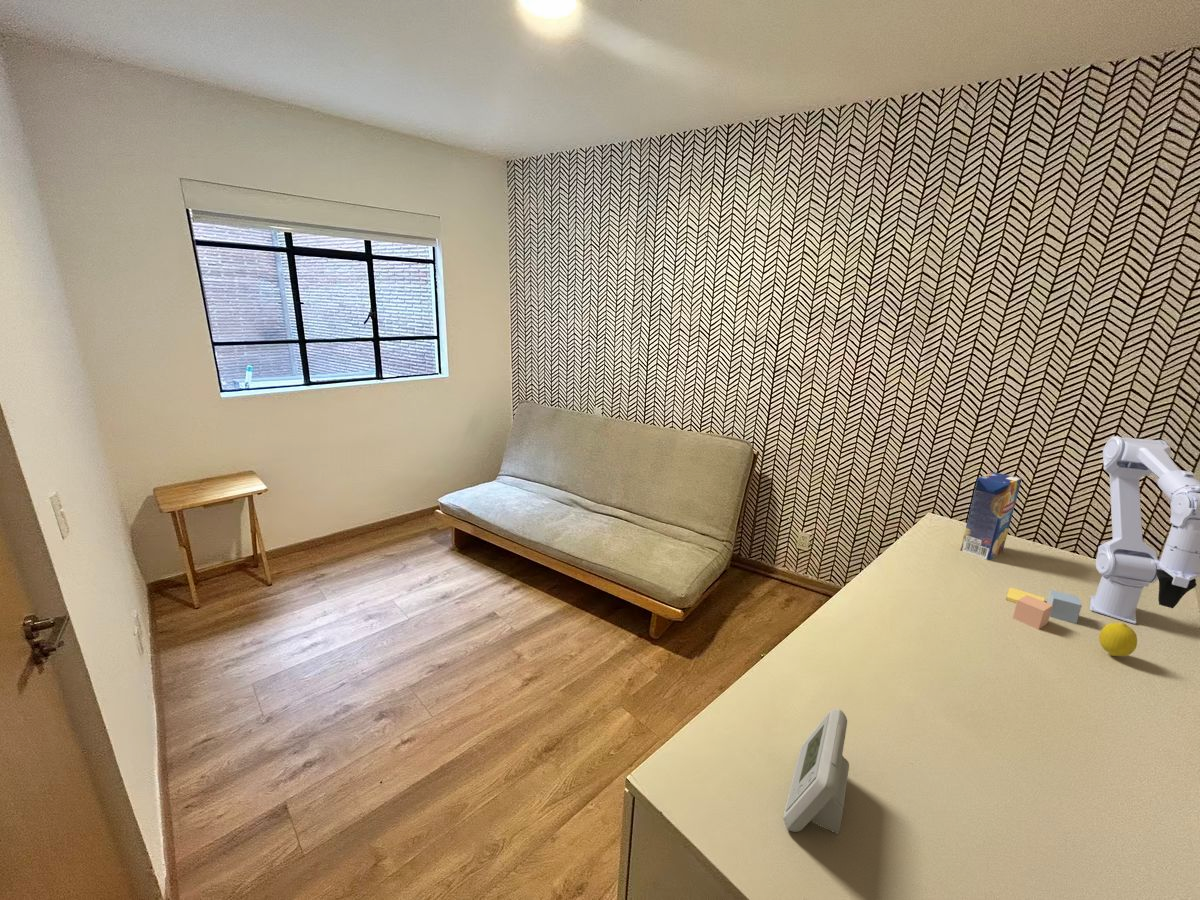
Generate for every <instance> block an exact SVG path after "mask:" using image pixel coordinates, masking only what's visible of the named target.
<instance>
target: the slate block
mask: <svg viewBox="0 0 1200 900" xmlns="http://www.w3.org/2000/svg"><path fill="white" fill-rule="evenodd" d="M1046 603H1049V604H1051V605H1053V607H1052V610H1051V613H1050V617H1049V618H1054V619H1058V620H1061V621H1065V622H1069V623H1072V624H1077V622H1078V618H1079V616H1080V612H1081V609H1082V606H1083V605H1082V603H1081V600H1080V598H1079V596H1078V595H1073V594H1070V593H1065V592H1063V591H1059V590H1054V589H1050V591H1049V594H1048V598H1047V602H1046Z"/></svg>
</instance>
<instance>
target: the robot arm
mask: <svg viewBox="0 0 1200 900" xmlns="http://www.w3.org/2000/svg"><path fill="white" fill-rule="evenodd" d="M1170 454H1171V446H1170V445H1169V444H1168V443H1167V441H1165V440H1163V439H1145V438H1133V437H1123V436H1122V437H1121V436H1117V435H1115V436H1112V437H1110V438H1109V439H1108V440H1107V441H1106V443H1105V445H1104V447H1103V449H1102V459H1103V461H1102V462H1103V463H1102V464H1103V470H1104V471H1105V472H1106V473H1108V474H1109V490H1110V492H1109V493H1110V494H1109V495H1110V513H1111V533H1112V534H1111V536H1112V539H1111V540H1108V541H1105V542H1103V543H1102V544H1100V545H1098V547H1097V556H1096V558H1095V568H1096V570H1097V571H1098V573H1099V574H1100V575H1101V578H1100V581H1099V583H1098V587H1097V590H1096V593H1095V595H1092V594H1091V595H1090V603H1089V610H1090V611H1091V612H1095V613H1097V614H1102V615H1103V616H1107V617H1111V618H1114V619H1117V620H1121V621H1124V622H1127V623H1130V624H1135V625H1136V624H1137V615H1136V610H1137V607H1138V603H1139V602H1140V599H1141V596H1142V593H1143V590H1144V587H1149V585H1150V584H1154V583H1156V582H1157V581H1158V601H1157V602H1158V605H1159V606H1163V607H1167V608H1169V609H1174V608H1175V607H1176V606H1177V604H1179V602H1180V601H1181V600H1182V598H1183V596H1185V595H1186V594H1187V593H1188V592H1189V591H1191V590H1192V589H1195V587H1197V580H1196V579H1197V578H1199V577H1200V480H1199V479H1198V478H1197V477H1196V476H1195V474H1194V473H1193V472H1192V471H1187V470H1181V469H1180V468H1179V467H1178V466H1177V464H1176V463H1175V462H1174V461H1173V459H1172V457H1170ZM1152 474H1154V475H1155V476H1156V477H1157V478H1158V479H1157V486H1158V487H1159V489H1160V490H1161V491H1162V492H1163V493H1164V495H1165V496H1166V497H1167V498H1168V500H1170V511H1171V515H1170V518H1169V521H1170V522H1169V523H1171V524H1172V525H1171V528H1170V530H1169V532H1168V533H1169V534H1168V536H1167V539H1166V542H1165V545H1164V548H1163V551H1162V553H1161V557H1160V559H1159V558H1158V555H1157V551H1156V550H1155V549H1154V548H1152V547H1151V546H1150V545H1149V544H1147V543H1145V542H1144V540H1143V526H1142V510H1141V508H1142V507H1141V493H1140V491H1141V490H1140V480H1141V478H1142V477H1146V476H1147V477H1148V476H1150V475H1152Z"/></svg>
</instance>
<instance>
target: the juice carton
mask: <svg viewBox="0 0 1200 900" xmlns="http://www.w3.org/2000/svg"><path fill="white" fill-rule="evenodd" d="M1022 479H1023V478H1022V477H1017V476H1013V475H1010V474H1009V475H1008V474H1004V473H999V472H994V471H990V472H989V473H986V474H984V475H981V476H979V477H977V479H976V484H975V487H974V492H973V496H972V501H971V505H970V509H969V514H968V518H967V521H966V525H965V530H964V535H963V538H962V543H961V546H960V552H963V553H966V554H968V555H972V556H975V557H977V558H979V559H984V560H986V561H990V560H991V559H993V558H995V557H996V556H998V555H999V554H1000V553H1002V552H1003V551H1004V549H1005V548H1004V547H1005V543H1006V541H1007V537H1008V533H1009V529H1010V526H1011V522H1012V517H1013V514H1014V510H1015V506H1016V503H1017V498H1018V496H1019V491H1020V488H1021V484H1022Z"/></svg>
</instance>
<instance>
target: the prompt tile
mask: <svg viewBox="0 0 1200 900" xmlns="http://www.w3.org/2000/svg"><path fill="white" fill-rule="evenodd" d="M1026 595H1028V596H1031V597H1033V598H1036V599H1038V600H1041V601H1043V602H1045V597H1043V596H1040V595H1037V594H1033V593H1031V592H1027V591H1024V590H1022V589H1021V590H1020V589H1017V588H1014V587H1011V586H1010V587H1009V589H1008V592H1007V594H1006V596H1005V597H1006V598H1005V600H1006V601H1009V602H1012V603H1016V604H1017V601H1018V600H1019V599H1021V598H1023V597H1024V596H1026Z"/></svg>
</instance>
